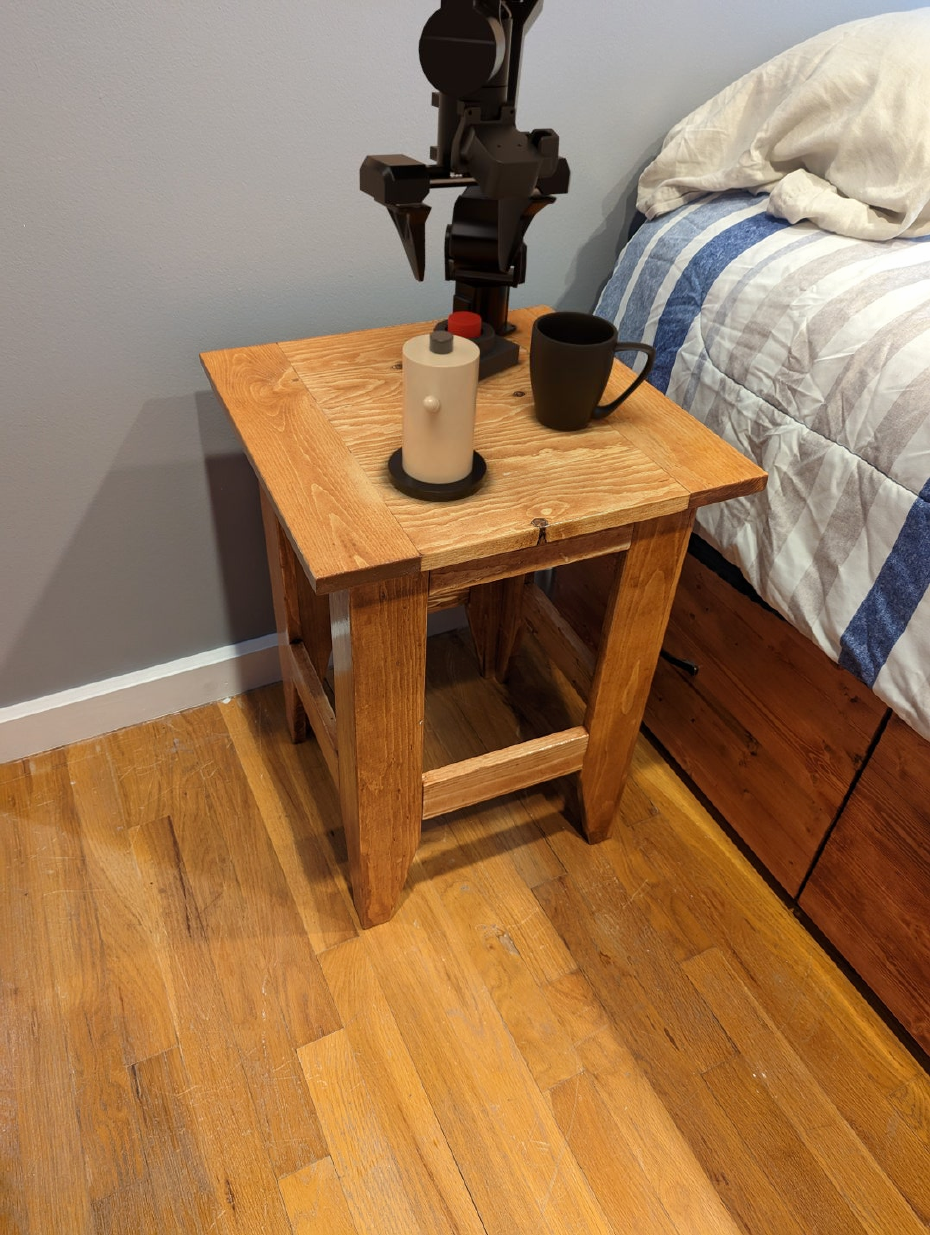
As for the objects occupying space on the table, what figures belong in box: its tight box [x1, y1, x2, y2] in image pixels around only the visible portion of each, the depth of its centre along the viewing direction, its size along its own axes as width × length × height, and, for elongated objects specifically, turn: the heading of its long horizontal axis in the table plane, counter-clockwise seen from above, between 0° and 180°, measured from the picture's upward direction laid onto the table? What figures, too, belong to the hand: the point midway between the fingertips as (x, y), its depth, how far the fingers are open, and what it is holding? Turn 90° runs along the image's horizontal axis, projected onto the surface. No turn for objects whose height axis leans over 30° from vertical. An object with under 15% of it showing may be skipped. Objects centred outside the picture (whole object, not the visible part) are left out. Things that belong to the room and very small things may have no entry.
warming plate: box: [387, 446, 488, 503], centre depth 79 cm, size 9×9×1 cm
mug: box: [528, 310, 657, 432], centre depth 85 cm, size 8×12×10 cm
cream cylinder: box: [401, 331, 480, 484], centre depth 74 cm, size 9×6×12 cm
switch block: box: [432, 318, 521, 382], centre depth 95 cm, size 10×8×4 cm
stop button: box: [447, 312, 481, 338], centre depth 94 cm, size 4×4×2 cm
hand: (462, 275), depth 82 cm, fingers open, 9 cm apart
